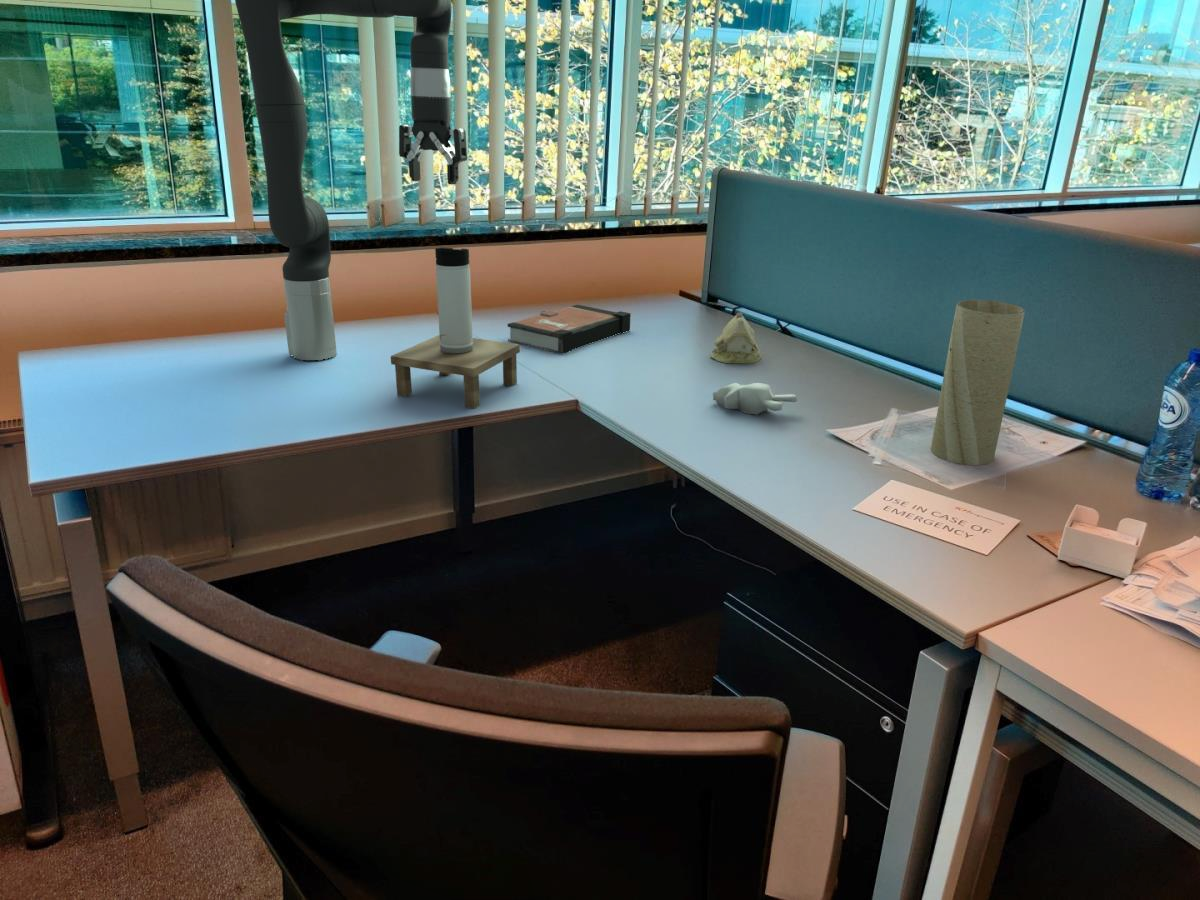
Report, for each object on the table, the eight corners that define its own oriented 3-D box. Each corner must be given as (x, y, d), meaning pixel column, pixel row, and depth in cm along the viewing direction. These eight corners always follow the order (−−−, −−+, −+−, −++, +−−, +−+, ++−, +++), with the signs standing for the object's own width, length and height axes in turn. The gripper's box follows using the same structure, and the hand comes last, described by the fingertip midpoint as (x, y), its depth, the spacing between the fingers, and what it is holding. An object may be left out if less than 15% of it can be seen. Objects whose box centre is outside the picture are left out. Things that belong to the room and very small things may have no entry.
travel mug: (434, 353, 166) (428, 247, 158) (447, 344, 172) (442, 241, 164) (465, 355, 165) (461, 249, 157) (477, 346, 171) (473, 243, 163)
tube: (961, 468, 140) (991, 316, 130) (917, 446, 149) (942, 302, 139) (1007, 459, 144) (1040, 311, 134) (962, 438, 152) (989, 297, 143)
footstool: (393, 396, 167) (390, 356, 164) (443, 370, 182) (441, 333, 179) (475, 410, 161) (473, 368, 158) (520, 382, 176) (519, 344, 173)
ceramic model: (761, 366, 191) (765, 321, 187) (710, 363, 192) (713, 318, 188) (759, 348, 203) (763, 306, 200) (711, 346, 205) (714, 304, 201)
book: (574, 321, 225) (575, 302, 223) (629, 333, 215) (630, 313, 213) (505, 341, 206) (505, 321, 204) (562, 355, 196) (562, 334, 194)
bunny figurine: (731, 376, 170) (800, 383, 161) (731, 401, 172) (801, 410, 162) (704, 387, 163) (776, 396, 154) (705, 413, 165) (776, 423, 156)
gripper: (473, 96, 167) (474, 184, 173) (411, 92, 172) (414, 178, 178) (451, 96, 160) (454, 187, 167) (388, 92, 165) (392, 181, 172)
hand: (433, 182), depth 172 cm, fingers open, 8 cm apart
